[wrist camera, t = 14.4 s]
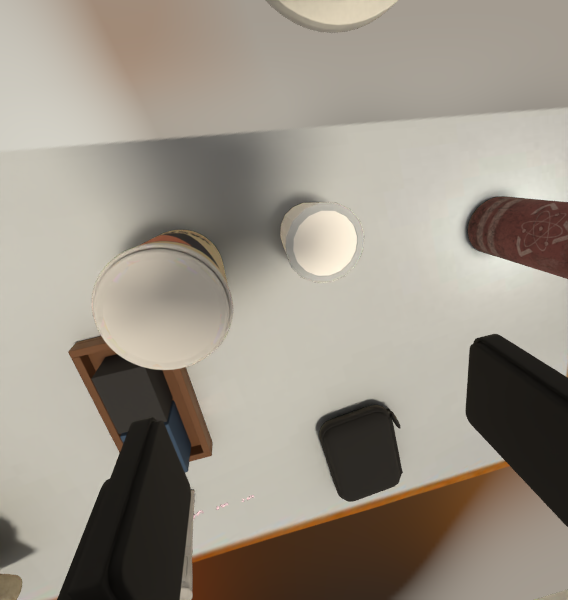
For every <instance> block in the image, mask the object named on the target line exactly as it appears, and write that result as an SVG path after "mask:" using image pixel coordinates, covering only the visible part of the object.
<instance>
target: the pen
mask: <svg viewBox="0 0 568 600" xmlns="http://www.w3.org/2000/svg"><path fill="white" fill-rule="evenodd" d="M193 514H194V490H191V502H190V511H189V520H188V529H187V538H186V547H185V556H184V565H183V574H182V583H181V592H180V600H191V599H192V553H193V550H192V537H193Z"/></svg>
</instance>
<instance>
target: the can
mask: <svg viewBox="0 0 568 600" xmlns="http://www.w3.org/2000/svg"><path fill="white" fill-rule="evenodd" d="M468 237H469V240H470V242H471V244H472V246H473V247H474V248H476V249H477V250H478V251H481V252H484V253H487V254H490V255H493V256H497V257H500V258H503V259H506V260H509V261H513V262H516V263H519V264H522V265H525V266H528V267H532V268H535V269H538V270H541V271H544V272H548V273H551V274H554V275H557V276H560V277H563V278H567V279H568V202H558V201H547V200H536V199H525V198H514V197H494V198H492V199H489V200H487V201H486V202H484V203H483V204H482V205H480V206H479V207H478V208H477V209H476V210H475V212H474V213H473V214H472V216H471V218H470V221H469V224H468Z"/></svg>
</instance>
